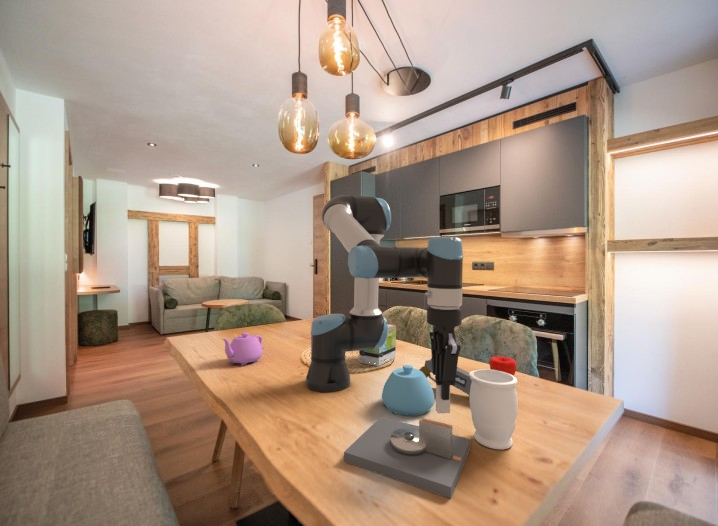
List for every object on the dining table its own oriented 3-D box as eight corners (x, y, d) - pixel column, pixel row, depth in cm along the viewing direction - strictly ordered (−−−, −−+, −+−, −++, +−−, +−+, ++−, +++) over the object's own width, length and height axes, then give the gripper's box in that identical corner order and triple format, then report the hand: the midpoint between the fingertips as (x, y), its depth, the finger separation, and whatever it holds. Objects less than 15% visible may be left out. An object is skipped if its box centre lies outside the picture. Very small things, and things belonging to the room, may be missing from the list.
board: (343, 461, 68) (343, 451, 68) (380, 424, 83) (380, 415, 83) (451, 498, 57) (451, 486, 57) (470, 448, 73) (470, 438, 73)
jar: (462, 429, 81) (462, 369, 81) (502, 428, 82) (502, 368, 82) (482, 454, 70) (482, 384, 70) (527, 452, 71) (527, 383, 71)
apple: (509, 387, 109) (509, 363, 109) (484, 380, 116) (484, 358, 116) (520, 380, 115) (520, 358, 115) (496, 374, 122) (496, 353, 122)
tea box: (379, 367, 130) (379, 330, 130) (358, 363, 136) (358, 327, 136) (396, 358, 143) (396, 324, 143) (376, 354, 148) (376, 322, 148)
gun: (476, 430, 98) (495, 388, 94) (412, 380, 113) (426, 343, 110) (480, 426, 100) (499, 385, 96) (417, 378, 116) (431, 341, 112)
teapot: (233, 372, 124) (233, 340, 124) (211, 365, 132) (211, 335, 132) (273, 359, 141) (273, 331, 141) (251, 354, 149) (251, 327, 149)
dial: (384, 448, 69) (384, 418, 69) (399, 431, 76) (399, 404, 76) (445, 467, 62) (445, 435, 62) (456, 447, 69) (456, 418, 69)
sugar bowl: (373, 400, 99) (373, 361, 99) (415, 392, 105) (415, 356, 105) (398, 422, 85) (398, 377, 85) (445, 412, 91) (445, 370, 91)
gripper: (419, 302, 79) (418, 399, 79) (437, 311, 66) (436, 427, 66) (449, 302, 80) (448, 398, 80) (473, 311, 67) (471, 425, 67)
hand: (442, 411), depth 73 cm, fingers closed
